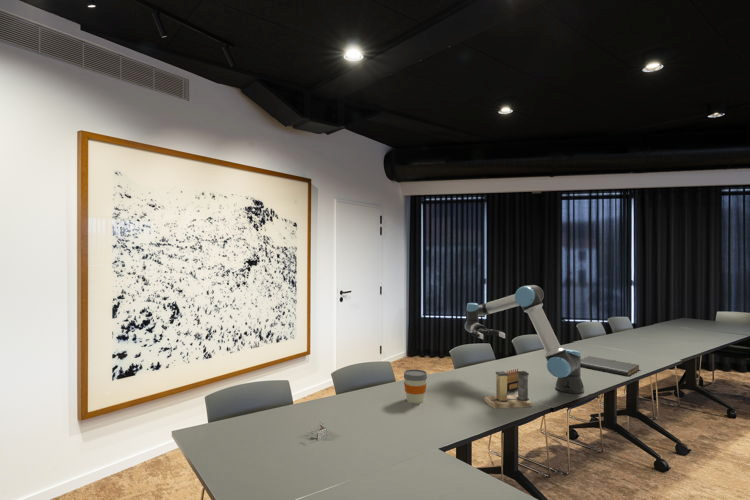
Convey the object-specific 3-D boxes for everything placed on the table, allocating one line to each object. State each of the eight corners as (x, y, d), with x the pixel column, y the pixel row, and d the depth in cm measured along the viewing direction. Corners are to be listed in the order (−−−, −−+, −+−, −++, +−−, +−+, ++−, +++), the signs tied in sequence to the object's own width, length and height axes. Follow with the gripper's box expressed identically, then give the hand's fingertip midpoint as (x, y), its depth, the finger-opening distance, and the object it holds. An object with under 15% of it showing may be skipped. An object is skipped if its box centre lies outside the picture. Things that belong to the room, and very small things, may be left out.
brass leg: (503, 397, 224) (503, 371, 224) (507, 400, 219) (507, 373, 219) (495, 398, 223) (495, 371, 223) (499, 401, 218) (499, 374, 218)
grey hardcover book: (639, 364, 288) (627, 371, 271) (639, 370, 288) (627, 377, 271) (588, 355, 312) (575, 361, 296) (589, 361, 312) (575, 367, 296)
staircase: (319, 434, 183) (319, 422, 183) (326, 437, 181) (326, 424, 181) (308, 439, 178) (308, 426, 178) (315, 442, 176) (315, 429, 176)
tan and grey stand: (522, 398, 229) (522, 368, 229) (534, 406, 217) (534, 375, 217) (484, 400, 226) (484, 370, 226) (493, 408, 214) (493, 376, 214)
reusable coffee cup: (426, 405, 218) (426, 376, 218) (402, 403, 221) (402, 375, 221) (427, 397, 230) (427, 370, 231) (405, 395, 233) (405, 368, 233)
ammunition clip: (507, 392, 239) (507, 371, 239) (504, 391, 241) (504, 370, 241) (519, 389, 245) (519, 368, 245) (517, 388, 247) (517, 367, 247)
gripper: (497, 335, 266) (513, 342, 245) (459, 336, 262) (473, 343, 241) (497, 323, 266) (513, 329, 245) (459, 324, 262) (473, 330, 241)
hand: (493, 336), depth 243 cm, fingers open, 13 cm apart
